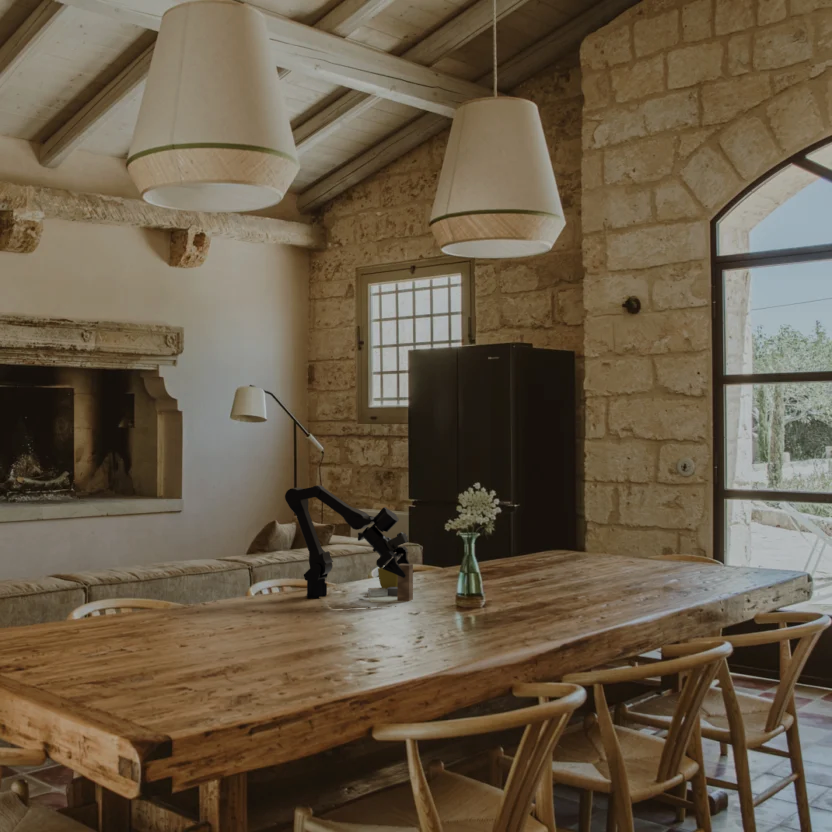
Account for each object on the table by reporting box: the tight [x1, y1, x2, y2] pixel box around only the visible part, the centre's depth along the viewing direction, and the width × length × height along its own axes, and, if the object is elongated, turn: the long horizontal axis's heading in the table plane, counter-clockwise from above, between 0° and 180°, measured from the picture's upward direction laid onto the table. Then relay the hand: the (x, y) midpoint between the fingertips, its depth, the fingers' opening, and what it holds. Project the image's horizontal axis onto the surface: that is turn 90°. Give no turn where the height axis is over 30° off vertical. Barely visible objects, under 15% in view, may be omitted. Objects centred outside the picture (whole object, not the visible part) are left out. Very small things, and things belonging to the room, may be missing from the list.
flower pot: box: [377, 567, 397, 588], centre depth 360 cm, size 9×9×9 cm
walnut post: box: [397, 563, 414, 601], centre depth 341 cm, size 4×4×12 cm
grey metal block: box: [367, 587, 388, 597], centre depth 350 cm, size 6×4×2 cm, turn 106°
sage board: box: [367, 594, 412, 603], centre depth 346 cm, size 14×16×1 cm
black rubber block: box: [387, 587, 397, 596], centre depth 351 cm, size 5×4×2 cm
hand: (408, 574), depth 341 cm, fingers open, 9 cm apart
